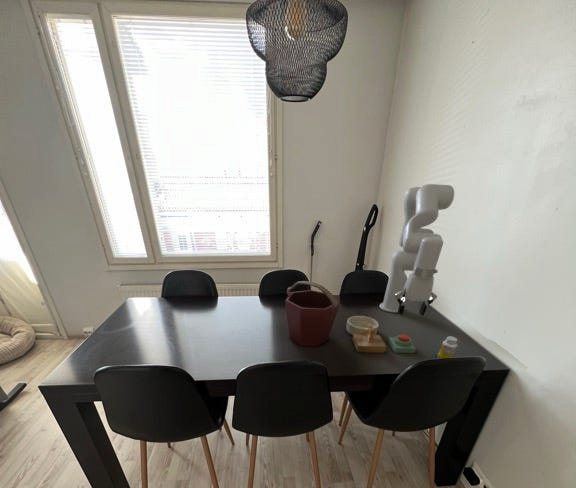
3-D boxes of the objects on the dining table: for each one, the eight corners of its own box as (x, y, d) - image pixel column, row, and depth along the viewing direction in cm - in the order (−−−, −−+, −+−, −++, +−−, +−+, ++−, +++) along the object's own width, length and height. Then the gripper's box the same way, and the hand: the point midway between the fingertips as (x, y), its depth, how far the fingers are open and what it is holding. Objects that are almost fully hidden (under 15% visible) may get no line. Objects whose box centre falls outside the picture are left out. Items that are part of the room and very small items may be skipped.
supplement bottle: (438, 354, 127) (447, 333, 121) (452, 359, 124) (461, 338, 119) (434, 359, 124) (443, 338, 118) (448, 364, 121) (457, 343, 115)
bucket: (274, 332, 138) (275, 280, 124) (309, 321, 149) (314, 272, 135) (308, 355, 122) (313, 298, 108) (344, 341, 134) (354, 288, 120)
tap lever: (364, 333, 134) (366, 323, 131) (368, 334, 134) (370, 323, 131) (368, 341, 128) (370, 331, 125) (372, 342, 128) (374, 331, 125)
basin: (343, 324, 148) (345, 315, 146) (371, 325, 149) (374, 316, 146) (349, 338, 136) (350, 328, 133) (379, 339, 137) (382, 329, 134)
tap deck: (351, 337, 137) (352, 331, 136) (376, 337, 138) (378, 331, 136) (357, 352, 126) (358, 345, 125) (384, 352, 127) (386, 346, 125)
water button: (396, 337, 131) (397, 333, 130) (406, 337, 132) (407, 334, 131) (399, 342, 128) (400, 338, 127) (409, 342, 128) (410, 338, 127)
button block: (387, 341, 136) (389, 333, 133) (406, 341, 136) (409, 334, 134) (394, 352, 127) (396, 344, 125) (414, 352, 128) (417, 345, 125)
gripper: (440, 270, 116) (427, 310, 126) (397, 268, 116) (387, 309, 125) (449, 276, 110) (434, 318, 120) (404, 274, 109) (393, 317, 119)
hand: (410, 313), depth 123 cm, fingers open, 8 cm apart
